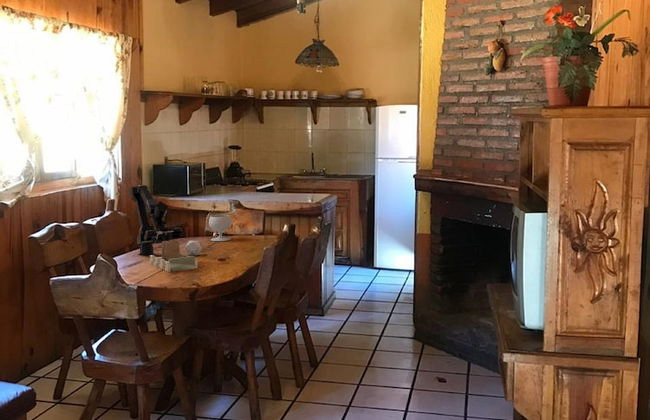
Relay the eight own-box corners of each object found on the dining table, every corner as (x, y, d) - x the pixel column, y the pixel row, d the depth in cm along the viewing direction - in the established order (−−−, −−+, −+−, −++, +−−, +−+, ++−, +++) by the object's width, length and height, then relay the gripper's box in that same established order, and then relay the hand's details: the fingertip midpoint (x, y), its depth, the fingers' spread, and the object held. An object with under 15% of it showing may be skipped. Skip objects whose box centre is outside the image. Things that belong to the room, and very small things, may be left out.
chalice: (221, 242, 402) (220, 218, 400) (204, 240, 410) (203, 216, 408) (236, 239, 414) (236, 215, 412) (219, 237, 421) (219, 213, 420)
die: (193, 258, 359) (203, 243, 361) (180, 250, 360) (190, 235, 362) (196, 260, 367) (206, 246, 369) (183, 252, 367) (193, 238, 370)
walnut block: (162, 259, 338) (161, 241, 337) (175, 257, 342) (174, 240, 341) (166, 261, 333) (166, 243, 332) (179, 259, 337) (179, 241, 336)
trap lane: (150, 264, 341) (149, 252, 340) (178, 260, 350) (178, 249, 349) (167, 272, 322) (167, 259, 321) (197, 268, 331) (197, 256, 330)
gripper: (172, 231, 358) (181, 254, 350) (138, 234, 347) (146, 258, 340) (177, 218, 351) (187, 241, 343) (143, 221, 340) (151, 245, 332)
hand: (168, 247), depth 340 cm, fingers closed, pressing on walnut block
